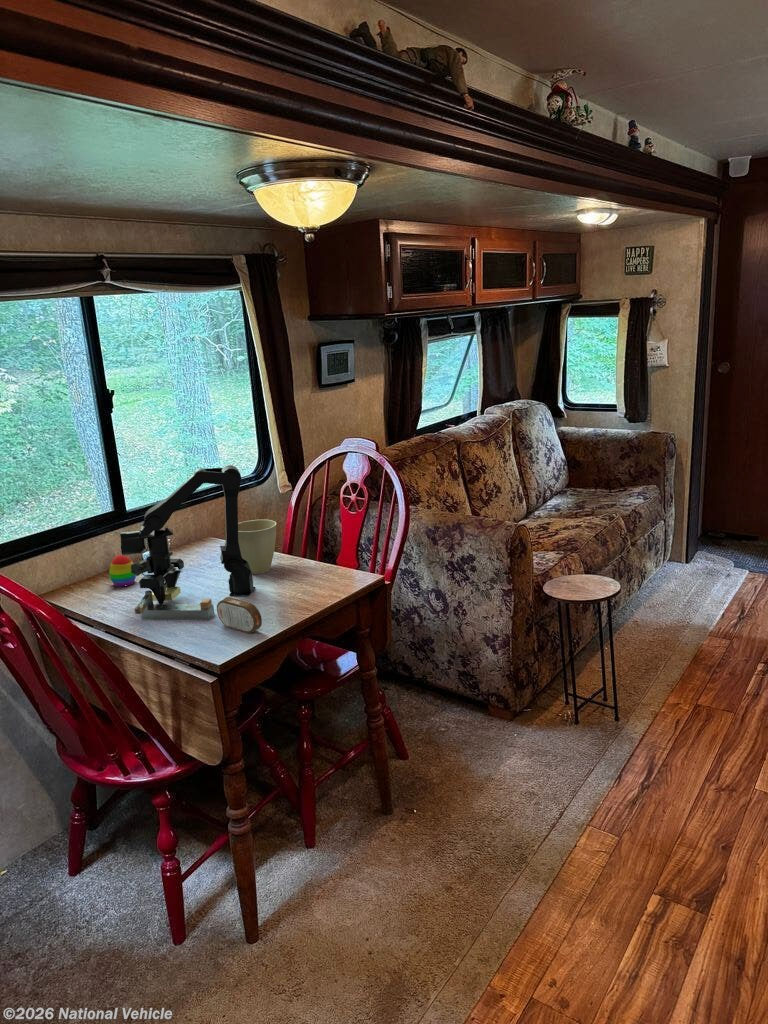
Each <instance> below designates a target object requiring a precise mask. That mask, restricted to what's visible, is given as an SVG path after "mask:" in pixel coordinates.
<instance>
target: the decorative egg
mask: <svg viewBox="0 0 768 1024" xmlns="http://www.w3.org/2000/svg"><path fill="white" fill-rule="evenodd" d="M133 563H134V562H133V560H132V559H130V557H128V555H124V556H123V555H122V554H119V555H116V556H115V557H114V558H113V560H111V563H110V566H109V578H110V580H111V582H112V584H114V585H115V586H116V585H117V586H116V587H118V586H124V587H126V586H125V585H129V584H131V585H133V584H134V583H135V581H136V578H137V576H136V575H134V574H133V573H131V565H132V564H133ZM132 583H133V584H132ZM129 586H130V585H129Z"/></svg>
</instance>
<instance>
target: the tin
mask: <svg viewBox="0 0 768 1024" xmlns="http://www.w3.org/2000/svg"><path fill="white" fill-rule="evenodd" d="M216 611H217V616H218V619H219V620H220V622H221V623H222V625H224V626H225V627H226V628H230V629H232V630H236V631H240V632H243V633H246V634H252V633H254V632H255V631H257V630H259V629H260V628H261V626H262V624H263V618H262V615H261V612H260V611H259V609H258V607H256V605H255V604H254V603H252V602H250V601H248V600H247V601H246V600H243V599H240V598H235V597H233V596H226V597H225V598H223V599H222V600H219V602H218V603H217V604H216Z"/></svg>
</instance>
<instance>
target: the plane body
mask: <svg viewBox="0 0 768 1024" xmlns="http://www.w3.org/2000/svg"><path fill="white" fill-rule="evenodd" d="M153 605H154V607H152V608H147V606H146V608H145V609H144V611H143V613H142V614H140V615H141V621H210V620H211V618H213V616H214V615H215V606H214V604H213V602H212V598H203V599H202V600H201V601H200V602H199V603H188V604H187V603H185V604H183V603H182V604H181V603H178V604H177V603H168V604H167V603H163V604H159V603H158V604H156V603H153Z"/></svg>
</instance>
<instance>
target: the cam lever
mask: <svg viewBox="0 0 768 1024" xmlns="http://www.w3.org/2000/svg"><path fill="white" fill-rule="evenodd" d="M153 604H154V601H153V598H152V590H146V591H144V596H143V597H142V599H141V600H140V601H139V602H138V604H137V605H136V606H135V607H134V615H141V614H142V613H143V611H144V609H145V608H146V606H147V608H152V607H154V605H153Z"/></svg>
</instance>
